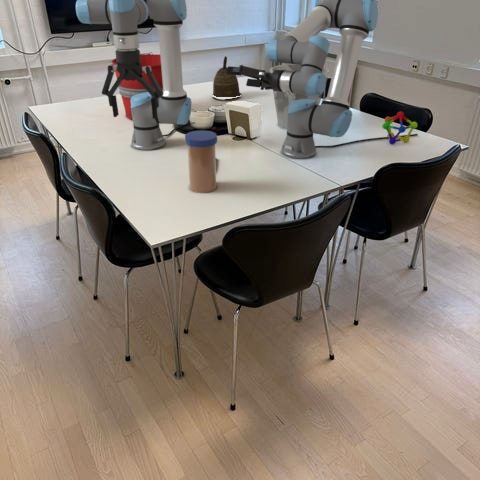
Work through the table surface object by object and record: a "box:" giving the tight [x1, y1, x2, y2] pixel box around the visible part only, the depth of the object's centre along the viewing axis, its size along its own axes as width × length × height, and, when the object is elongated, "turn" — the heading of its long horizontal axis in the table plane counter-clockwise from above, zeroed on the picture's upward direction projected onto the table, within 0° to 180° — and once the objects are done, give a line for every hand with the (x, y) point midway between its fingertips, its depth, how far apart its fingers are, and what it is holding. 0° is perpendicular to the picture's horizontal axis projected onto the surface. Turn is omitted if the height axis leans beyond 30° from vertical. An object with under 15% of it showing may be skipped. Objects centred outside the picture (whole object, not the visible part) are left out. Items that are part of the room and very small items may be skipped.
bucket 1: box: [108, 51, 163, 121], centre depth 240 cm, size 35×35×30 cm
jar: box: [186, 144, 217, 194], centre depth 163 cm, size 10×10×20 cm
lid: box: [184, 129, 218, 147], centre depth 158 cm, size 11×11×2 cm
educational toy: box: [382, 110, 418, 145], centre depth 207 cm, size 16×13×15 cm
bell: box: [212, 56, 242, 97], centre depth 278 cm, size 19×26×20 cm
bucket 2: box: [269, 64, 330, 130], centre depth 226 cm, size 30×30×28 cm
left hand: (135, 116), depth 150 cm, fingers open, 13 cm apart
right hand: (237, 76), depth 172 cm, fingers open, 13 cm apart
